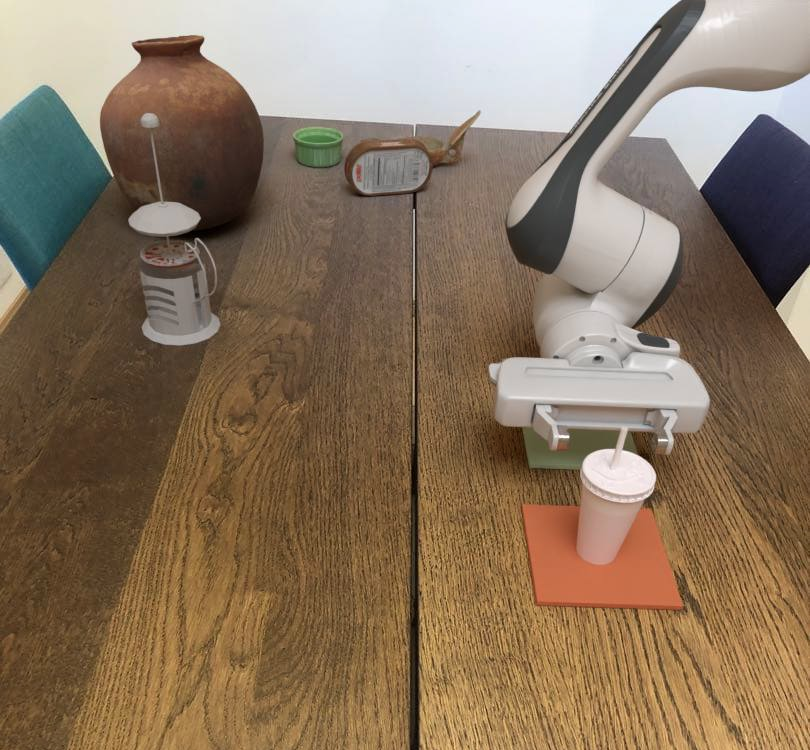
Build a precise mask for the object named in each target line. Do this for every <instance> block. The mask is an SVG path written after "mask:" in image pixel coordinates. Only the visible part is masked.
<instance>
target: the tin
mask: <svg viewBox="0 0 810 750" xmlns="http://www.w3.org/2000/svg"><path fill="white" fill-rule="evenodd" d="M343 165H344V167H343V171H344V176H345V179H346V181H347V182H348V183H349V185H350V186H351V188H352V189H353V190H355V192H357V193H358V194H360V195H362V196H366V197H376V196H390V195H404V194H414V193H417V192H418V191H420V190H422V189H423V188H424V187H425V186H426V185H427V184H428V182H429V181H430V180H431V177H432V174H433V169H434V166H433V161H432V157H431V155H430V153H429V152H428V150H427V148H426V147H425V145H424V144H423V143H421V142H420V141H418V140H416V139H403V138H394V139H384V140H367V141H363V142H359V143H357V144H356V145H354V146H353V147H352V148H351V150H349V152H348V153H347V156H346V157H345V160H344V164H343Z"/></svg>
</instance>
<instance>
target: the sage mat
mask: <svg viewBox="0 0 810 750" xmlns="http://www.w3.org/2000/svg"><path fill="white" fill-rule="evenodd" d="M521 428H522V434H523V439H524V446H525V451H526V457H527V463H528V468H529V469H548V470H549V469H551V470H574V471H575V470H576V471H580V470H581V468H582V465H583V461H584V459H585V458H586V457H587V456H588V455H589V454H591V453H593V452H595V451H598V450H603V449H616V445H617V441H618V438H619V434H620V431H607V430H582V429H568V432H569V443H568V444H567V450H566V451H556V450H550V448H549V443H548V440H546V439H544V438H543V437H542V436H540V435H539V434H538V433H536V432H535V431H534V429H533V428H531V427H521ZM631 432H632V431H627V435H626V438H625V442H624V445H623V449H622V450H624V451H628V452H631V453H634V454H636V455H638V456H639V453H638V451H637V450H638V449H637V447H636V444H635V442H634V439H633V435H632V433H631Z"/></svg>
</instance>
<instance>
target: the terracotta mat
mask: <svg viewBox="0 0 810 750" xmlns="http://www.w3.org/2000/svg"><path fill="white" fill-rule="evenodd" d="M520 510H521V514H522V522H523V528H524V535H525V540H526V541H525V542H526V547H527V554H528V560H529V566H530V567H529V568H530V573H531V580H532V585H533V593H534V599H535V605H536V606H547V607H548V606H549V607H573V608H574V607H575V608H576V607H577V608H603V609H605V608H606V609H608V608H609V609H633V610H634V609H636V610H637V609H639V610H663V611H664V610H665V611H667V610H669V611H682V609H683V608H684V604H683V601H682V599H681V596H680V592H679V589H678V586H677V583H676V580H675V577H674V575H673V570H672V567H671V565H670V561H669V559H668V556H667V552H666V549H665V547H664V543H663V541H662V537H661V533H660V530H659V528H658V526H657V522H656V519H655V515H654V512H653V510H652V508H640V510H639V512H638V513H637V515H636V517H635V519H634V521H633V523H632V525H631V527H630V529H629V531H628V533H627V535H626V537H625V539H624V541H623V543H622V545H621V547H620V549H619V551H618V553H617V555H616V557H615V559H614V560H613V561H612V562H610V563H608V564H605V565H596V564H591V563H589V562H587V561H585V560H583V559H582V558H581V557H580V556H579V555H578V553H577V550H576V546H577V535H578V525H579V514H580V505H559V504H558V505H557V504H555V505H553V504H533V503H532V504H531V503H529V504H528V503H522V504H521V509H520Z"/></svg>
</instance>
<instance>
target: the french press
mask: <svg viewBox="0 0 810 750" xmlns="http://www.w3.org/2000/svg"><path fill="white" fill-rule="evenodd" d="M141 126H143V127H147V128H150V134H151V141H152V147H153V153H154V160H155V166H156V173H157V179H158V186H159V192H160V198H161V201H160V202H156V203H152V204H149V205H145V206H142V207H140V208H139V209H138V210H137V211H135V210H134V212H132V214H131V215H130V216H129V218H128V224H129V226H130V227H131V229H132V230H134V231H135V232H137V233H138V234H141V235H144V236H149V237H159V238H160V237H161V238H164V237H165V238H166V239H163V240H155V241H153V242H151V243H149V244H146V245H144V246H143V247H142V248H141V249H140V251H139V253H138V256H139V258H140V260H141V261H140V262H139V264H137V265H138V271H139V276H140V281H141V283H140V284H141V285H142V294H143V296H144V304H145V309H146V313H147V317H146V318H145V319H144V322H143V323H142V326H141V329H142V334H143V336H145V337H146V338H147V339H148V340H150V341H151V342H155V343H158V344H161V345H166V346H186V345H194V344H198V343H200V342H203V341H206V340H209V339H210V338H212V337H213V336H214V335H215V334H216V333H218V332H219V330H220V328H221V321H220V319H219V317H218V316H217V315H216V314H214V313H212V309H211V302H210V297H211V296H213V295H214V294H215V293H216V290H217V286H218V274H217V267H216V262H215V260H214V258H213V255H212V254H211V252H210V250H209V249H208V247H207V245H206V244H205V243H204V242H203V241H202V240H201V239H200V238H199V237H195V238H194V243H193V242H191V241H188V240H183V239H182V240H181V239H173V238H171V239H170V237H176V236H180V235H183V234H187V233H189V232H192V231H191V230H192V229H194V228H196V226H197V224H198V222H199V220H200V219H201V218H200V215H199V213H198V212H196V211H194V210H193V209H191V208H189V207H187V206H185V205H183V204H181V203H176V202H163V198H162V191H161V185H160V178H159V172H158V165H157V159H156V153H155V146H154V140H153V133H152V128H153V127H157V126H159V120H158V117H157V116H156V115H155V114H153V113H146V114H144V115H143V116H142V118H141ZM198 243H199V244H201V245H202V247H203V248H204V250H205V251H206V254H208V256H209V258H210V261H211V264H212V267H213V271H214V287H213V289H212V291H211V292H210V293H209V287H208V278H207V271H206V263H205V259H203V258H202V256H200V255H201V253H202V251H201V249H200V247H199V246H198ZM194 264H197V265H200V267H201V268H199V267H196V268H193V269H189V270H186V271H179V272H172V271H169V269H178V268H184V267H188V266H191V265H194ZM193 275H196V278H193ZM196 284H197V286H198V287H195V286H194V285H196ZM198 293H199V296H197V297H196V296H195V294H198Z"/></svg>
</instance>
